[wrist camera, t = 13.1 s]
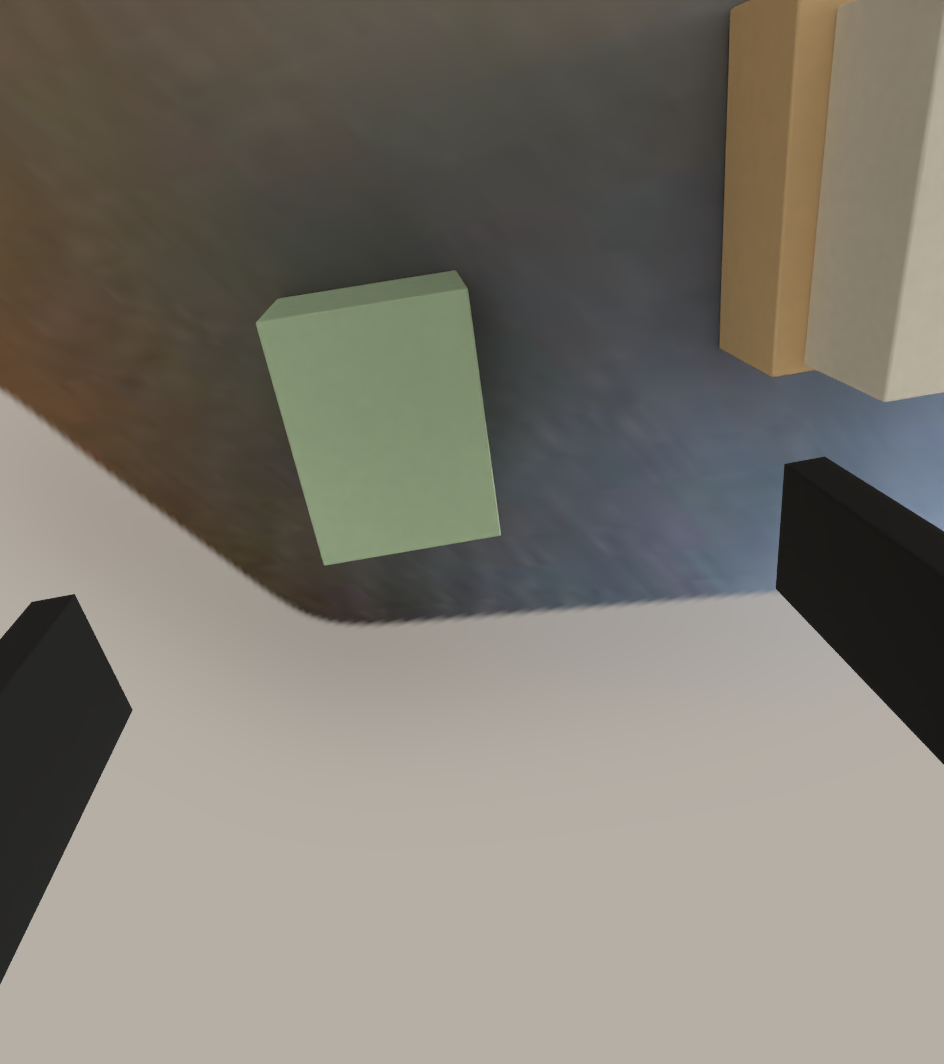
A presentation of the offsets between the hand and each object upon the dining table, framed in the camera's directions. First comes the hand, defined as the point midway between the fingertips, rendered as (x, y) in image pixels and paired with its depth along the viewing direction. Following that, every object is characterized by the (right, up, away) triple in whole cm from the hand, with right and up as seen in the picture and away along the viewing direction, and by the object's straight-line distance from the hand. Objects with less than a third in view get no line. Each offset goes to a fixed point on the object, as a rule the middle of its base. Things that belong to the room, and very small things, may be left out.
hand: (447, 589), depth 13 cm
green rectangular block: (-2, +6, +12) cm, 13 cm away
